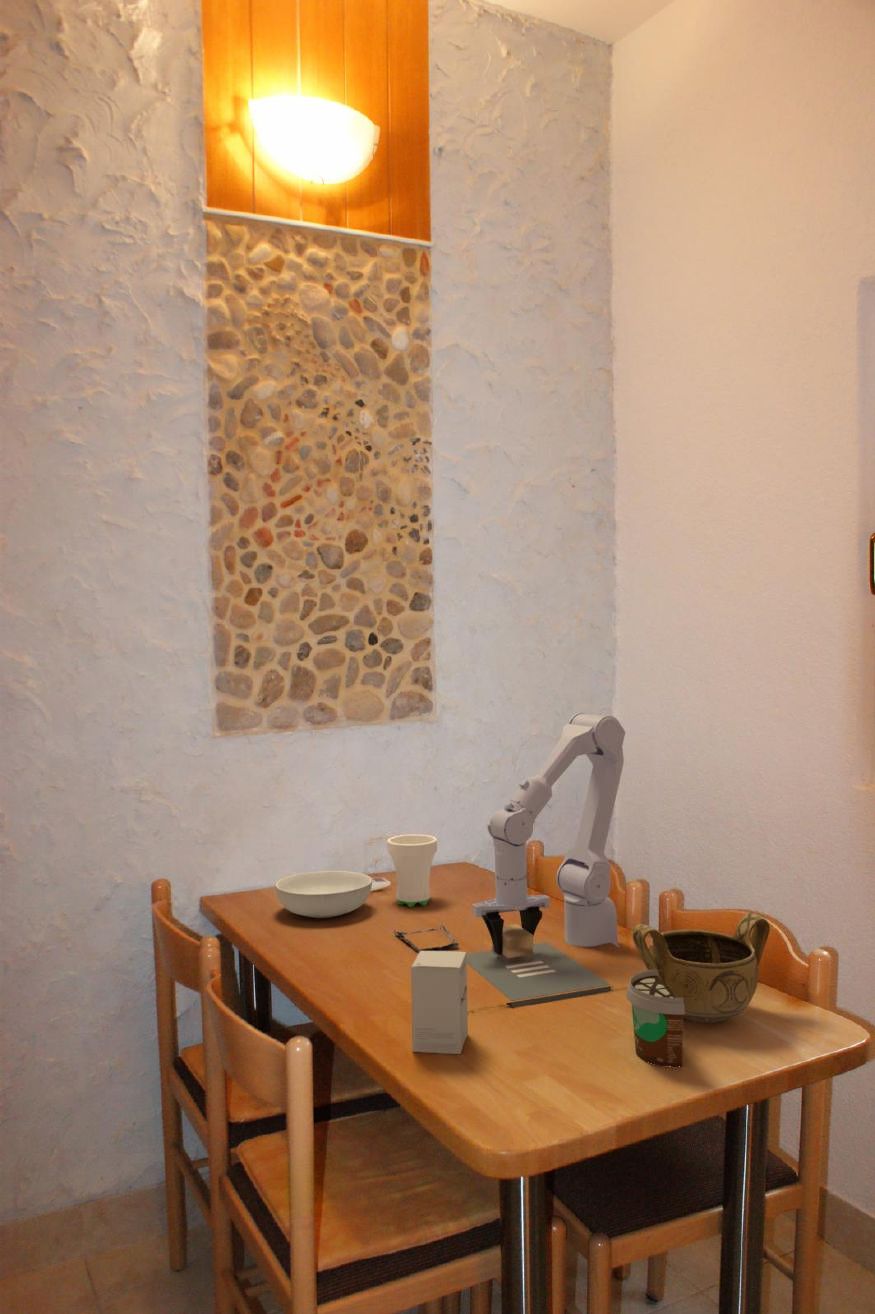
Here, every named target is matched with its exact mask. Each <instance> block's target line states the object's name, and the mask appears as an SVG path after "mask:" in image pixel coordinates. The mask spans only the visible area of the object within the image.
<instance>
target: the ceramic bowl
mask: <svg viewBox="0 0 875 1314" xmlns="http://www.w3.org/2000/svg"><path fill="white" fill-rule="evenodd" d="M770 930H771V925H770V924H769V922H768V920H767V919H765V918H763V917H762V916H760V915H758V914H756V913H753V912H748V913H746V914H744V915H743V916H742V917H741V918H740V920H739V922H738V923H737V926H736V927H735V930H734V933H733V935H730V934H727V933H722V932H717V931H710V930H705V929H704V930H702V929H675V930H669V931H664V932H660V931H659V930H657V929H656V928H654V927H651V926H650V925H647V924H644V923H639V924H637V925H636V926H635V927H634V928H633V931H632V940H633V943H634V945H635V947H636V949H637V952H638V954H639V955H640V957H641V959H642V962H643V964H644V966H645V967H646V971H649V970H658V977H659V979H660V980H661V981H662V982H663V983H664V984H666V985H667V986H669V987H670V989H671V991H672V992H673V994H674V995H675V997H676V998H683V1001H684V1009H685V1014H684V1015H683V1019H685V1020H688V1021H692V1022H695V1023H698V1024H700V1023H701V1024H715V1023H720V1022H724V1021H727V1020H730V1019H732V1018H734V1017H736V1016H738V1015H739V1014H741V1013H742V1012H743V1011H744V1010H745V1009H747V1007H748V1006H749V1005H750V1003H751V1001H752V999H753V997H754V995H755V993H756V990H757V988H758V982H759V966H760V963H761V959H762V957H763V953H764V951H765V948H766V947H765V946H766V945H767V941H768V938H769V934H770ZM648 934H649V935H650V936H651V939H650V941H649V946H648V943H647V942H646V938H647V936H648Z"/></svg>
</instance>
